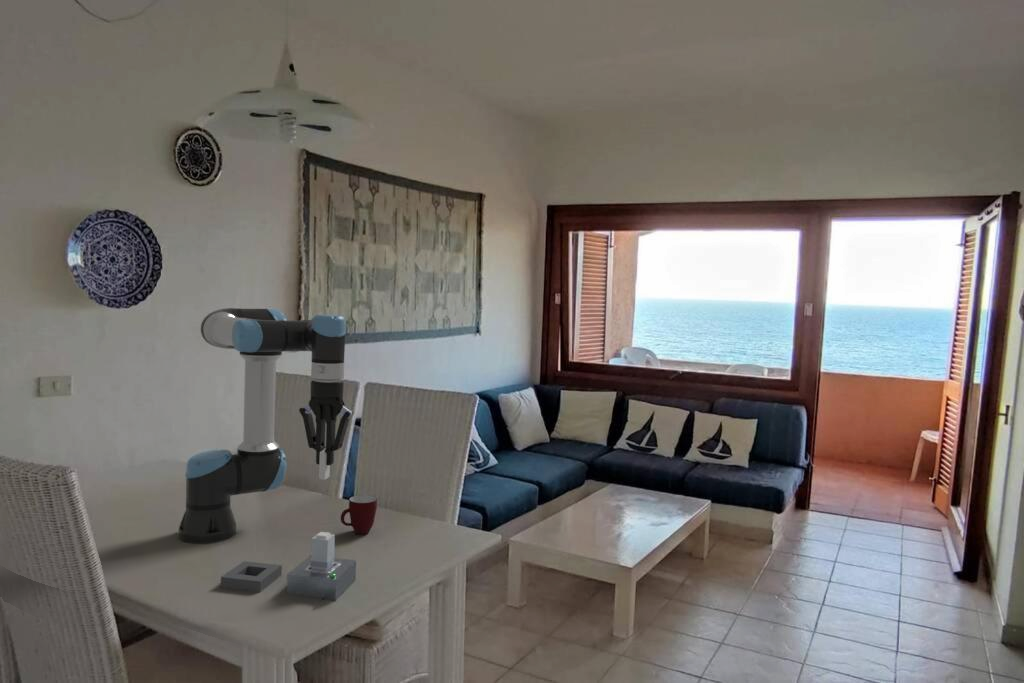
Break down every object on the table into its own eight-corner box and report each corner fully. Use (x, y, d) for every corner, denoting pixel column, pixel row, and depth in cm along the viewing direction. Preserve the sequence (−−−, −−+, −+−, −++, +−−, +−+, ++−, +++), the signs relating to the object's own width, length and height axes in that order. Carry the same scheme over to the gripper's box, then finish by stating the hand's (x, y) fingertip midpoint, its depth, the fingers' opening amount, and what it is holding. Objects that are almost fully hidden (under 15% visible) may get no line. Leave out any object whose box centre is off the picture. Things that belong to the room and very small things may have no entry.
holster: (220, 589, 161) (220, 576, 161) (243, 572, 171) (244, 561, 171) (260, 594, 160) (260, 581, 159) (281, 577, 169) (281, 565, 169)
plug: (309, 588, 163) (311, 536, 162) (317, 581, 167) (319, 530, 166) (326, 590, 162) (328, 537, 161) (333, 582, 166) (335, 531, 165)
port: (286, 595, 160) (287, 571, 159) (309, 575, 171) (310, 553, 171) (335, 601, 158) (336, 577, 157) (355, 580, 170) (356, 558, 169)
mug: (347, 540, 197) (348, 505, 196) (335, 532, 203) (336, 498, 202) (380, 533, 203) (381, 500, 203) (368, 525, 209) (369, 493, 209)
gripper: (294, 379, 160) (291, 479, 162) (347, 383, 158) (343, 484, 160) (308, 376, 167) (305, 471, 169) (359, 380, 165) (356, 476, 167)
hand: (324, 477), depth 164 cm, fingers closed
